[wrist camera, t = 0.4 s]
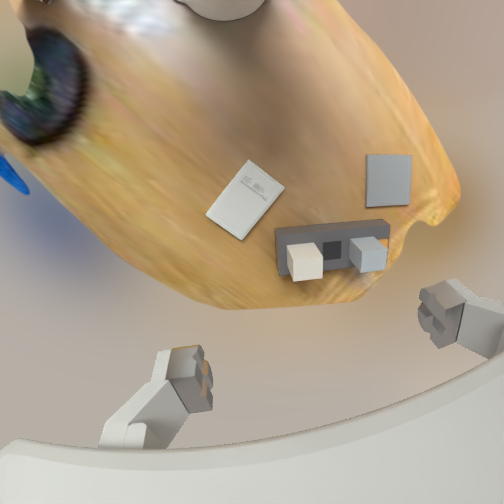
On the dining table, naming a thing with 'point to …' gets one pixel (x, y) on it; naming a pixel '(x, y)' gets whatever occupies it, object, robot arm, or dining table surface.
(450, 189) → the dining table surface
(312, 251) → the block
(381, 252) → the block
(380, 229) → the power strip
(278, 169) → the dining table surface
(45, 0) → the small white stand
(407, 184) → the rubber mat
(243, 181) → the external hard drive
